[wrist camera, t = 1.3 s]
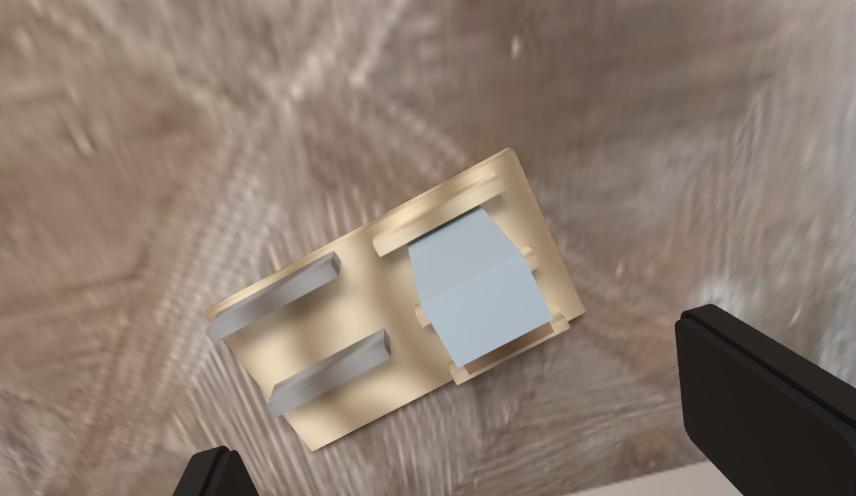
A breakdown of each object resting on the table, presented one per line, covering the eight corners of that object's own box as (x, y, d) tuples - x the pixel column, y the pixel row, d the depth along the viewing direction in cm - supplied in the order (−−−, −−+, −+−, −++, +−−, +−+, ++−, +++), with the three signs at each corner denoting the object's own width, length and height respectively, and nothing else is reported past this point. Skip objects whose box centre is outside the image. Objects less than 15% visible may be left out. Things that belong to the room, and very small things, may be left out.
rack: (508, 147, 36) (526, 155, 32) (578, 304, 41) (602, 329, 37) (210, 307, 37) (190, 335, 33) (314, 439, 42) (307, 478, 38)
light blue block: (477, 202, 35) (521, 252, 25) (502, 252, 37) (553, 319, 27) (406, 240, 36) (421, 305, 25) (433, 288, 37) (457, 368, 27)
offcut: (522, 278, 38) (538, 299, 34) (536, 307, 39) (554, 332, 35) (443, 319, 38) (451, 344, 34) (459, 347, 39) (469, 375, 36)
